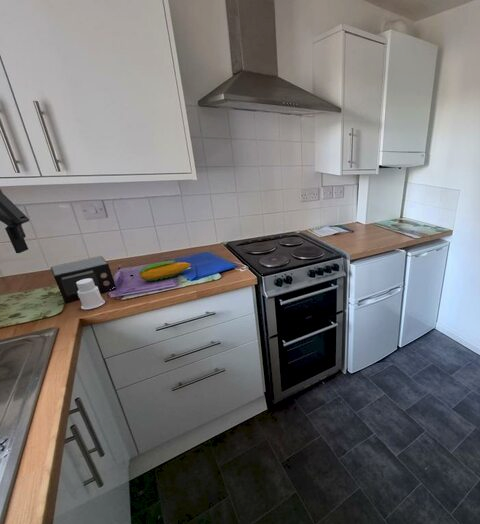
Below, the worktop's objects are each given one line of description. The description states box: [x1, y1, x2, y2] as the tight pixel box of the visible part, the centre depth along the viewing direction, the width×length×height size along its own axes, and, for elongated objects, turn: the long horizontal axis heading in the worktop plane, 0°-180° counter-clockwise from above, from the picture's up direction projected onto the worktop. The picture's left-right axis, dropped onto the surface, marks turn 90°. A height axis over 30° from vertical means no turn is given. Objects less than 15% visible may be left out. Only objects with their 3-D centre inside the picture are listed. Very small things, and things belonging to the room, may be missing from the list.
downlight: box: [76, 278, 106, 310], centre depth 110 cm, size 8×7×10 cm
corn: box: [139, 260, 192, 282], centre depth 133 cm, size 7×8×20 cm
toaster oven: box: [50, 255, 117, 304], centre depth 119 cm, size 13×16×12 cm
